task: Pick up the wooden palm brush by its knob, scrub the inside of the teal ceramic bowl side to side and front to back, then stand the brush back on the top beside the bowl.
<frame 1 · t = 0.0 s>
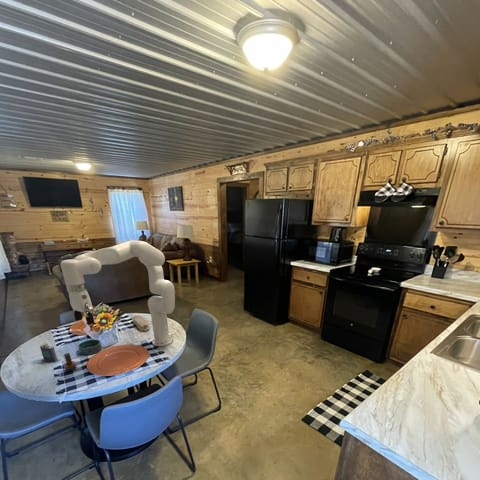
hand: (85, 321, 126), 31 cm above the table, tool pointing down, fingers open, 9 cm apart
brush: (71, 369, 144), on the table
flask: (50, 360, 153), on the table
bowl: (91, 350, 164), on the table
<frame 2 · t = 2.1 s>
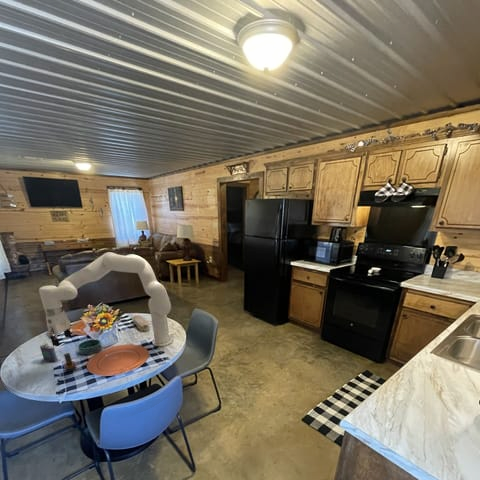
hand: (62, 341, 137), 18 cm above the table, tool pointing down, fingers open, 9 cm apart
nothing on the table moved.
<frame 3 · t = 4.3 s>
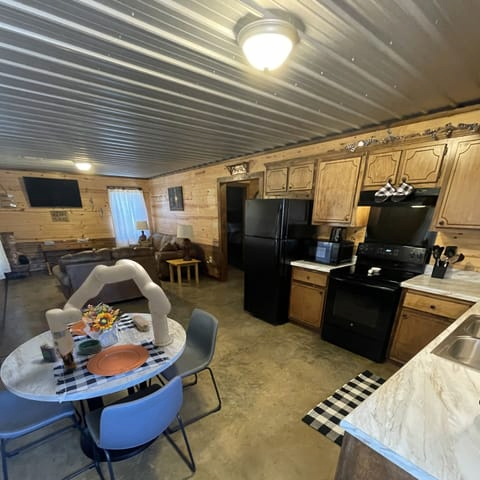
hand: (69, 362, 143), 4 cm above the table, tool pointing down, fingers closed on brush, 2 cm apart
brush: (71, 369, 144), on the table, touching gripper
everything else where it was.
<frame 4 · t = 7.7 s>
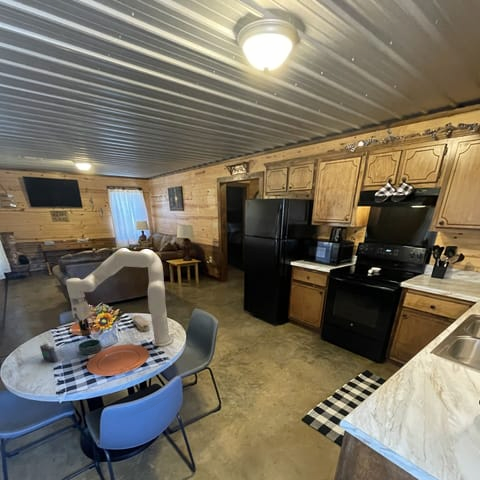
hand: (85, 328, 158), 15 cm above the table, tool pointing down, fingers closed on brush, 2 cm apart
brush: (86, 334, 159), point 11 cm above the table, touching gripper
everything else where it was.
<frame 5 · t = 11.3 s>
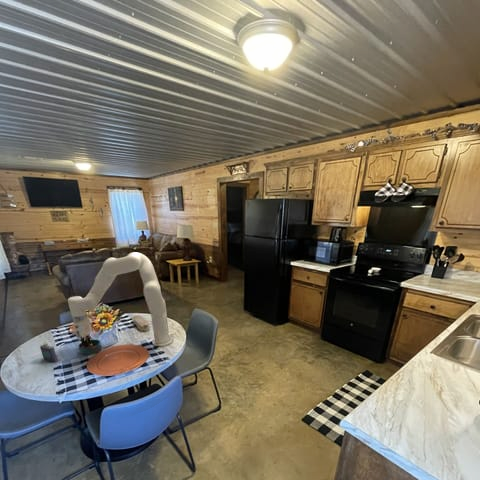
hand: (86, 344, 161), 5 cm above the table, tool pointing down, fingers closed on brush, 2 cm apart
brush: (88, 350, 162), point 1 cm above the table, touching gripper
everything else where it was.
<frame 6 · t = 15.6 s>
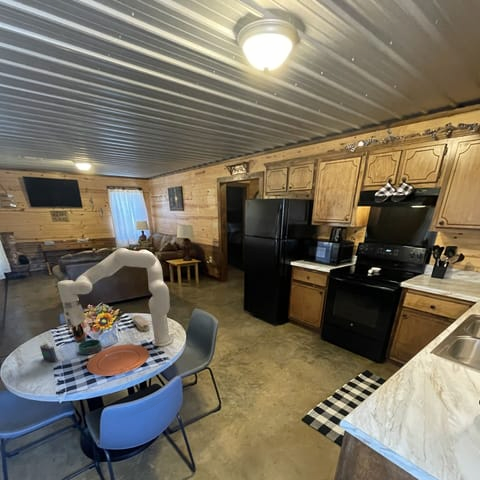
hand: (79, 334, 146), 17 cm above the table, tool pointing down, fingers closed on brush, 2 cm apart
brush: (80, 340, 147), point 13 cm above the table, touching gripper
everything else where it was.
when the fingers open (4 cm above the table, at t = 18.7 s): brush stays where it is, on the table.
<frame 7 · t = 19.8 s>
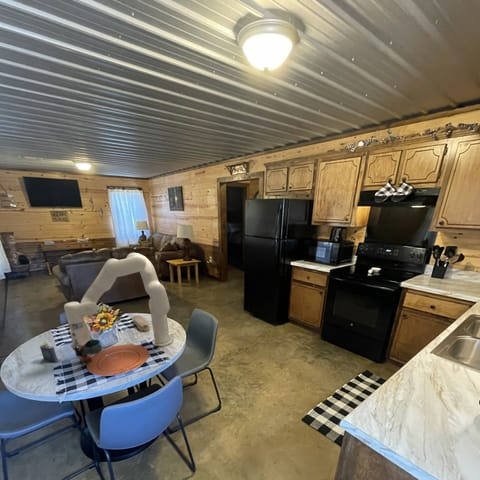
hand: (84, 351, 150), 6 cm above the table, tool pointing down, fingers open, 9 cm apart
brush: (86, 361, 152), on the table
everything else where it was.
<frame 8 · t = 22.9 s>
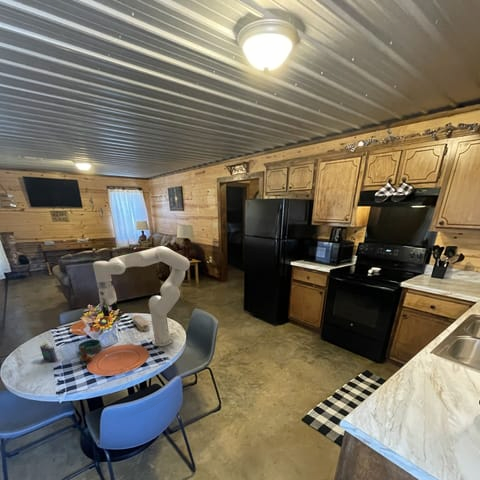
hand: (110, 313, 150), 26 cm above the table, tool pointing down, fingers open, 9 cm apart
nothing on the table moved.
at the end: brush inside the target area on the table beside the bowl (0.1 cm from its centre), on the table; brush tilted 0°; the gripper is holding nothing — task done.
